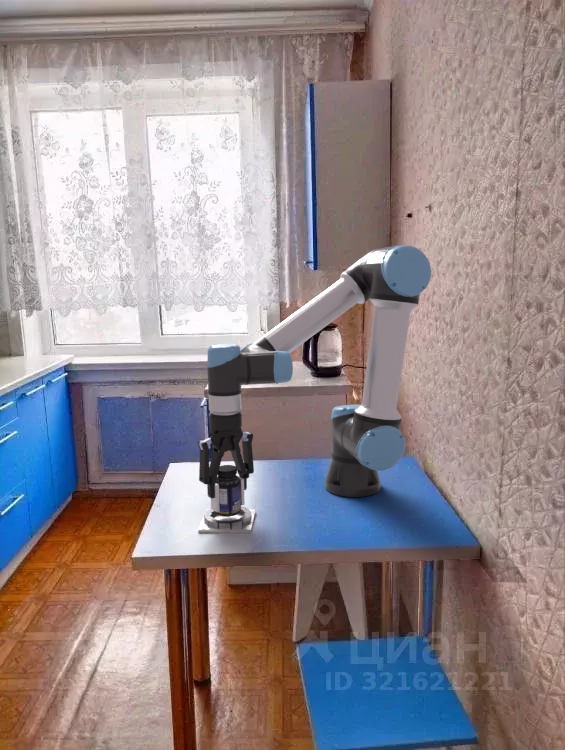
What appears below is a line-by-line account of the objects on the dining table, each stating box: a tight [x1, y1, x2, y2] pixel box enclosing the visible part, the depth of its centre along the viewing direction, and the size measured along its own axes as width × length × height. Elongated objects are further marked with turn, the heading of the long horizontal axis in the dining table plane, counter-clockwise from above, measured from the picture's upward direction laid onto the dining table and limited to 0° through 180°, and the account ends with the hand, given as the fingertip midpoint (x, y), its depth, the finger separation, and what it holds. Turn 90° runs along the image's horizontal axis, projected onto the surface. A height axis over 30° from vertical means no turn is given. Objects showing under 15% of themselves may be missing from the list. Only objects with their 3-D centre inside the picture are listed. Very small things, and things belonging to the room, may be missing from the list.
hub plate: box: [197, 505, 257, 534], centre depth 141 cm, size 12×12×2 cm
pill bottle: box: [215, 464, 242, 517], centre depth 140 cm, size 6×6×11 cm
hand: (228, 506), depth 141 cm, fingers closed on pill bottle, 6 cm apart
